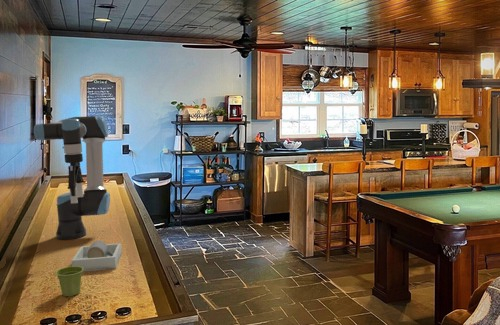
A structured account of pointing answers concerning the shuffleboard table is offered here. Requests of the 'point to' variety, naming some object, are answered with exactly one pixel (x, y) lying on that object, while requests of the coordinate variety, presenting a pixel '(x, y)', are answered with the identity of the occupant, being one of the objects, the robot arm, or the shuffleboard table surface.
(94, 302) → the shuffleboard table surface
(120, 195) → the shuffleboard table surface
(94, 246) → the ceramic mug
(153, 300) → the shuffleboard table surface
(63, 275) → the plant pot
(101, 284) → the shuffleboard table surface
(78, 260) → the bin
